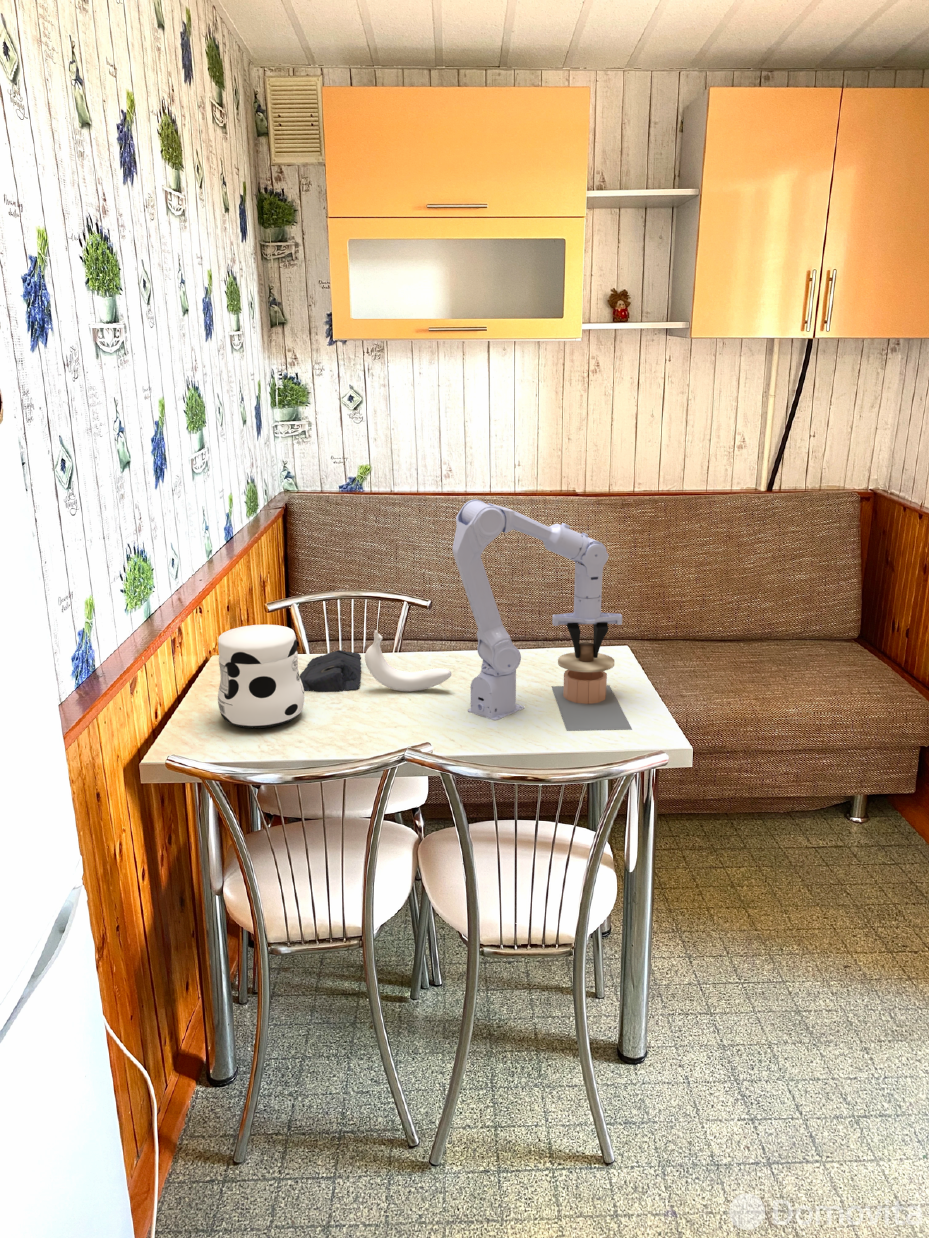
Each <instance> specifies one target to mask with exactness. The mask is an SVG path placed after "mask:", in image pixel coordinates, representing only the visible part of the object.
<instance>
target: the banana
mask: <svg viewBox="0 0 929 1238" xmlns="http://www.w3.org/2000/svg"><path fill="white" fill-rule="evenodd" d="M383 639H384V638H383V636H382V635H381V634H380V633H378V631H377V630H374V633H373V643H372V644H371V645H369V647H368V648H367V650H366V651H365V655H364V661H365V666H366V667H367V670H368V672H369V673H370V674H371V676H372V677H373V678H374V679H375V680H376V681H377V682H378V683H379V684H381V685H383V686H384V687H386V688H388V689H391V690H393V691H398V692H420V691H423V690H426V689H430V688H432V687H433V688H434V687H435V686H438V685H441V684H442V683H444V682H446V681H447V680H449V679H450V678H451V677H452V671H451V670H450V669H448V668H443V667H440V668H439V667H438V668H437V667H436V668H430V669H426V670H425V669H424V670H418V671H406V670H405V671H404V670H401V669H397V668H395V667H393V666H392V665H391V664H389V662H388V660H386V658H385V656H384V655H383V652H382V648H381V642H382V640H383Z"/></svg>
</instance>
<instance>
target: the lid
mask: <svg viewBox="0 0 929 1238" xmlns="http://www.w3.org/2000/svg"><path fill="white" fill-rule="evenodd" d="M579 648H580V658H576V657H575V651H573V652H568V653H564V654H562V655H560V656H559V657H558V658H557V665H558V666H559V667H561V668H562V669H564V670H571V671H577V672H600V671H604V672H605V671H608V670H611V669H613V668H614V667H615V659H614V657H612V656H610V655H607V654H604V653H600V652H598V657H597V658H594V644H593V642H588V641H587V642H586V641H584V642H579Z"/></svg>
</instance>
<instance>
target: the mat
mask: <svg viewBox="0 0 929 1238" xmlns="http://www.w3.org/2000/svg"><path fill="white" fill-rule="evenodd" d="M551 689H552V692H553V695H554V698H555V701H556V705H557V707H558V709H559V713H560V715H561V719H562V721H563V724H564V728H565V731H566V732H576V731H577V732H580V731H581V732H583V731H587V732H588V731H589V732H591V731H592V732H593V731H633V728H632V726H631V724H630V722H629V720H628V718H627V717H626V714H625V712H624V711H623V709H622V707H621V705H620V703H619V701H618V699H617V697H616V695H615V693H614V691H613V689H612V687H611V685H609V684H607V687H606V698H605V700H603V701H601V702H598V703H591V704H584V703H575V702H572V701H569V700H567V699H566V698H565V697H564V696H563V691H564V685H556V686H555V685H552V686H551Z"/></svg>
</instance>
